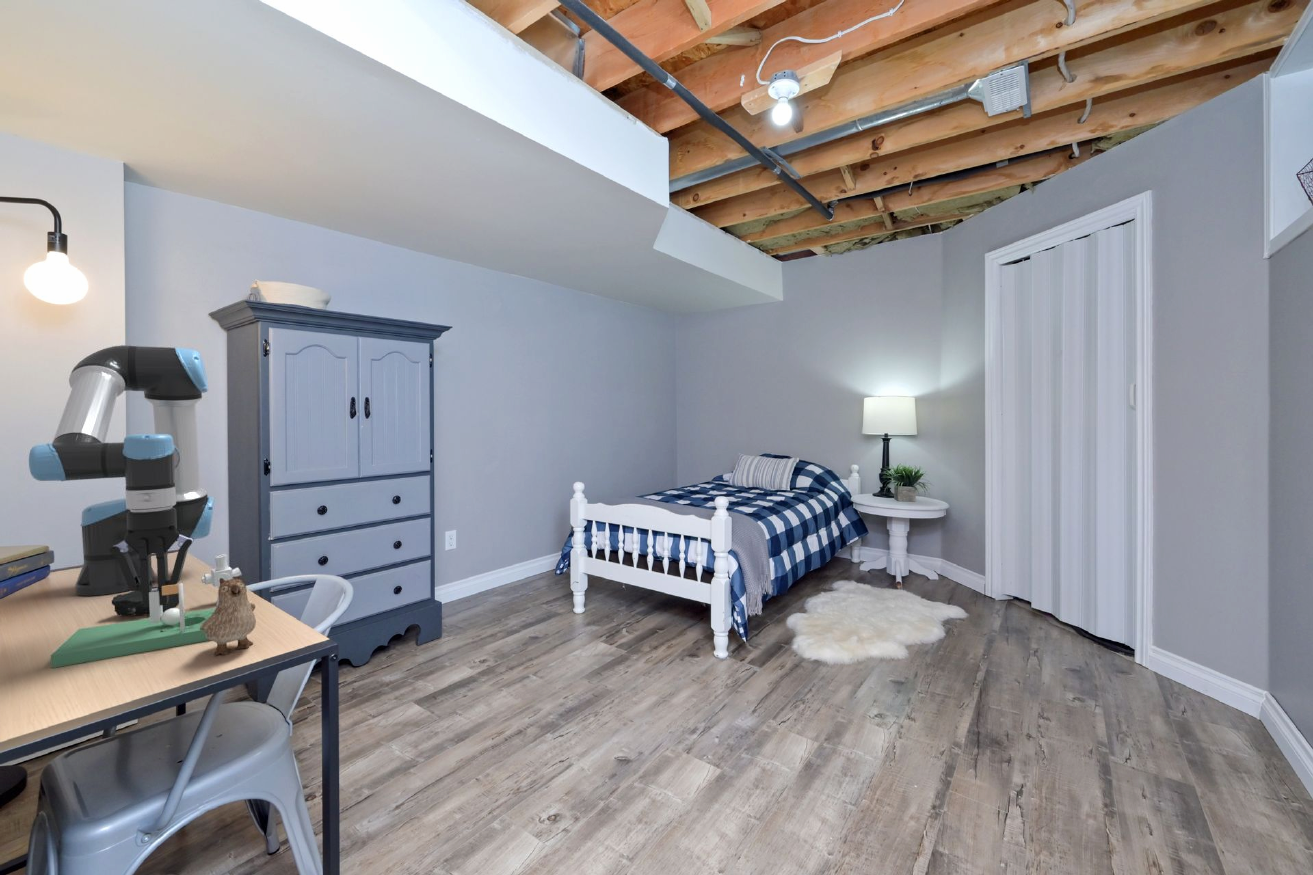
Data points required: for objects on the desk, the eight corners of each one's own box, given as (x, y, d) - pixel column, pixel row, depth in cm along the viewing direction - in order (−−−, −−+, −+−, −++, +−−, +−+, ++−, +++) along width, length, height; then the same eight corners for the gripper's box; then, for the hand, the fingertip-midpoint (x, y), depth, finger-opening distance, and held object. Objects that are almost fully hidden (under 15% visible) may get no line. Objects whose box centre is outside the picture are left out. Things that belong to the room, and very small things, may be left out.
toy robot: (244, 600, 135) (242, 553, 134) (204, 608, 129) (202, 559, 129) (240, 596, 138) (239, 550, 137) (201, 604, 132) (199, 556, 131)
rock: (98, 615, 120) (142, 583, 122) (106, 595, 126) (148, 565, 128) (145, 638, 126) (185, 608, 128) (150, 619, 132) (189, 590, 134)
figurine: (212, 665, 101) (208, 586, 100) (191, 653, 106) (188, 578, 105) (267, 647, 109) (264, 574, 108) (245, 636, 114) (243, 566, 113)
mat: (79, 640, 112) (76, 581, 111) (226, 616, 124) (224, 563, 124) (51, 668, 100) (47, 602, 99) (217, 638, 113) (214, 580, 112)
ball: (168, 625, 115) (159, 612, 114) (188, 615, 117) (178, 602, 116) (165, 631, 112) (155, 617, 111) (185, 621, 114) (175, 607, 113)
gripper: (101, 514, 105) (107, 633, 106) (189, 508, 112) (193, 620, 113) (114, 508, 111) (119, 621, 112) (196, 503, 118) (200, 609, 119)
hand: (156, 620), depth 113 cm, fingers closed
